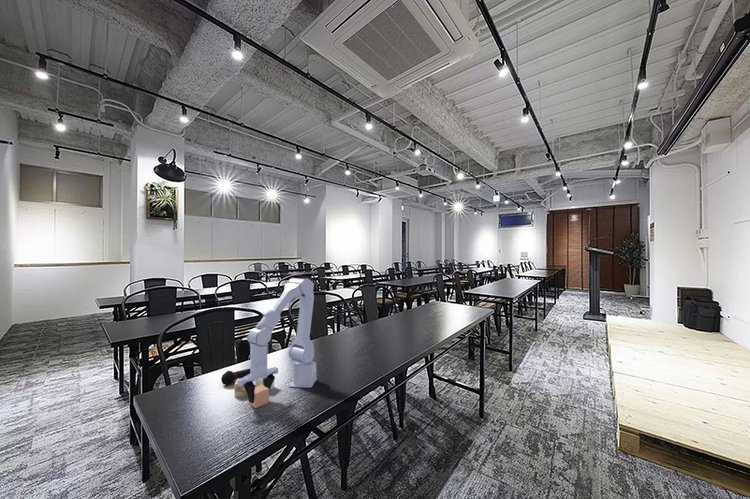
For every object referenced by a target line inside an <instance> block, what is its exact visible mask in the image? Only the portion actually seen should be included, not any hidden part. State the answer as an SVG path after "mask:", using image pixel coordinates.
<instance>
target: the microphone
mask: <svg viewBox="0 0 750 499" xmlns="http://www.w3.org/2000/svg"><path fill="white" fill-rule="evenodd" d="M249 374H250V368H245V369H241V370H237V371H232V370H227V371H225V373H224V374H222V376H221V378H220V379H221V384H222V385H224V386H225V385H226V386H230V385H232V384H234V382H236V380H237V379H240V378H243V377H245V376H247V375H249Z"/></svg>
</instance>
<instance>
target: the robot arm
mask: <svg viewBox="0 0 750 499" xmlns="http://www.w3.org/2000/svg"><path fill="white" fill-rule="evenodd" d="M314 288H315V283H313V282H312V280H311V279H310V278H295V277H291V278H290V279H288V281H287V283H285V285H284V290H283V292H282V293H281V295H280V297H278V299H277V301H276V303H275V305H274V306H273V308H272V309H269V310H267V311H265V312H264V314H263V317H262V318H261V320H260V321H259V322H258V323H257V324H256V325H255V327H254V328H252V329H251V330H249V332H248V334H247V336H246V340H247V341H248V343H249V347H250V357H249V358H250V361H249V362H250V368H249V369H250V374H249V375H247V376H245V377H243V378H241V379H238V386H240V387H241V386H244V388H245V390H246V392H247V395H248V396H247V397H248V403H249V402H250V403H254V391H255V387H256V384H254V382H256V380H258V379H263V385H264V386H265V387H267V388H269V393H270V391H271V390H270V388H271V385H272V383H273V381H274V382H275V379H276V375H277V374H279V367H277V366H274V367H270V368H269V367H268V343H270V341H271V338H272V334H273V331H274V330H275V327H276V326H277V324H278V323H279V322H280V320H281V317H282V316H281V313H282V312H283V311H284V310H285V308H286V307H287V306H288V304H289V303H290V302H291V301H292V299H293V298H298V299H299V300H300V303H299V311H298V320H297V327H296V328H297V329H296V337H295V339H293V340H292V341H291V345H290V348H289V350H288V356H289V358H290V359H291V362H292V382H290V384H289V385H288V387H289V388H309V389H310V388H312V387H313V386H314V384H315V383H316V382H317V380H318V379H317V362H315V361H313V360H314V356H315V350H314V343H313V342H312V340H311V337H310V335H311V326H312V319H313V312H314V311H313V310H314V301H315V295H314ZM273 375H274V376H273Z"/></svg>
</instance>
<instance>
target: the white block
mask: <svg viewBox="0 0 750 499" xmlns="http://www.w3.org/2000/svg"><path fill="white" fill-rule="evenodd" d="M273 376H275V374H273ZM255 385H256V386H255V387H257V386H260V385H263V379H258V380H255ZM263 386H264V385H263ZM274 388H275V380H274V381H273V383H272V385H271V388H270V391H271V390H273V389H274Z"/></svg>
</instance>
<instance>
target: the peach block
mask: <svg viewBox="0 0 750 499" xmlns="http://www.w3.org/2000/svg"><path fill="white" fill-rule="evenodd" d="M268 403H270V392H269V388H267V387H265V386H263V385H260V386H257V387H256V386H255V391H254V403H250V402H249V401H248V404H249V405H250V406H252V407H254V408H255V409H258V408H259V407H262V406H264V405H267V404H268Z"/></svg>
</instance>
